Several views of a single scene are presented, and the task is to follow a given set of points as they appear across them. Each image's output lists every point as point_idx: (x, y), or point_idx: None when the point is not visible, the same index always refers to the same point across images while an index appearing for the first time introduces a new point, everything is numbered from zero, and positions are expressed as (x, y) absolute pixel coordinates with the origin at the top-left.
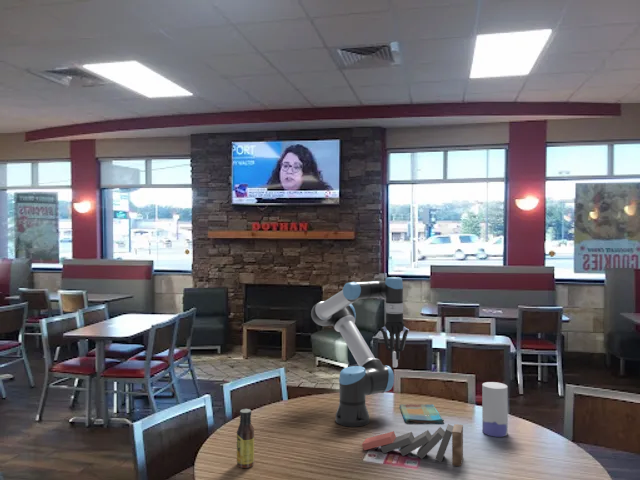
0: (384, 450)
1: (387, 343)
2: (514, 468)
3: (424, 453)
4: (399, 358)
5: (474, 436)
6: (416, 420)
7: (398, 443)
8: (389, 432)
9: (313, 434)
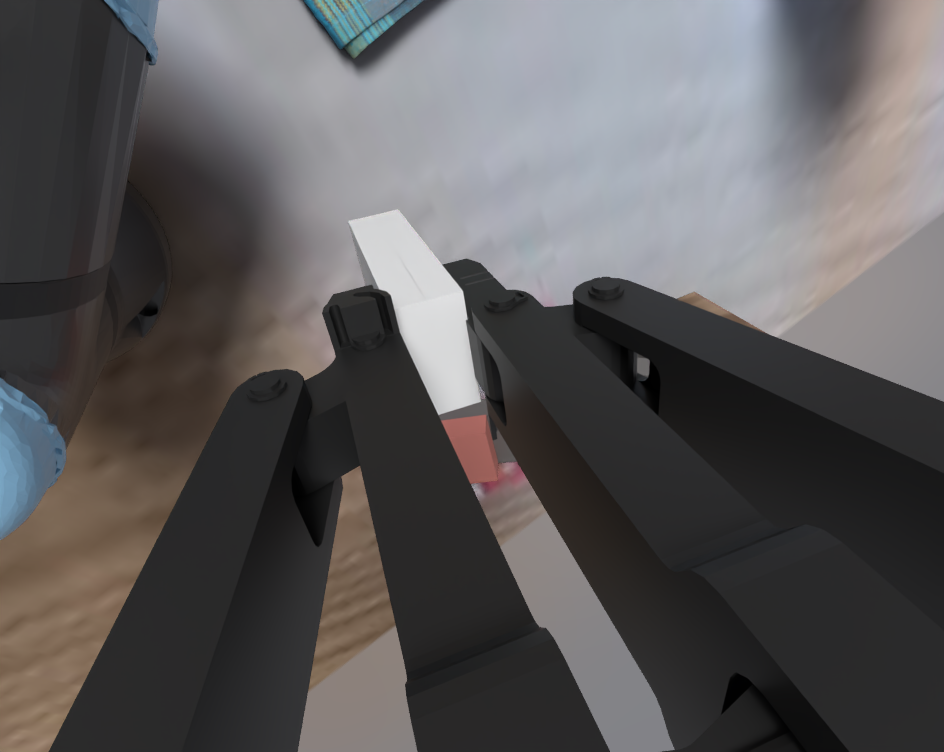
0: None
1: (322, 586)
2: (834, 260)
3: None
4: (473, 266)
5: (727, 26)
6: (406, 10)
7: None
8: (465, 437)
9: (77, 521)
